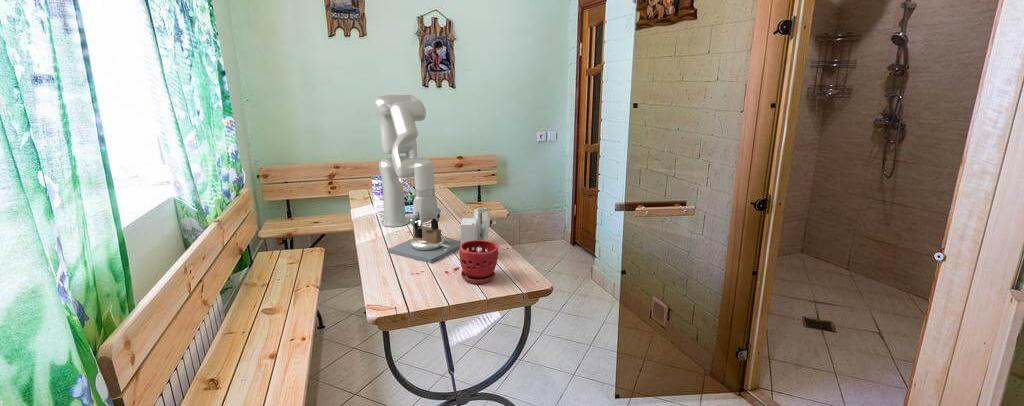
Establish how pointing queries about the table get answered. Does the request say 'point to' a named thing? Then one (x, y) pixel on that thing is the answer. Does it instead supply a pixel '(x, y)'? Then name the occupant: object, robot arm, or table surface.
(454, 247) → the dial plate
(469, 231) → the skincare box
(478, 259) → the plant pot
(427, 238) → the tuning dial
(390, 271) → the table surface
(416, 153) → the robot arm
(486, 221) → the beer glass
